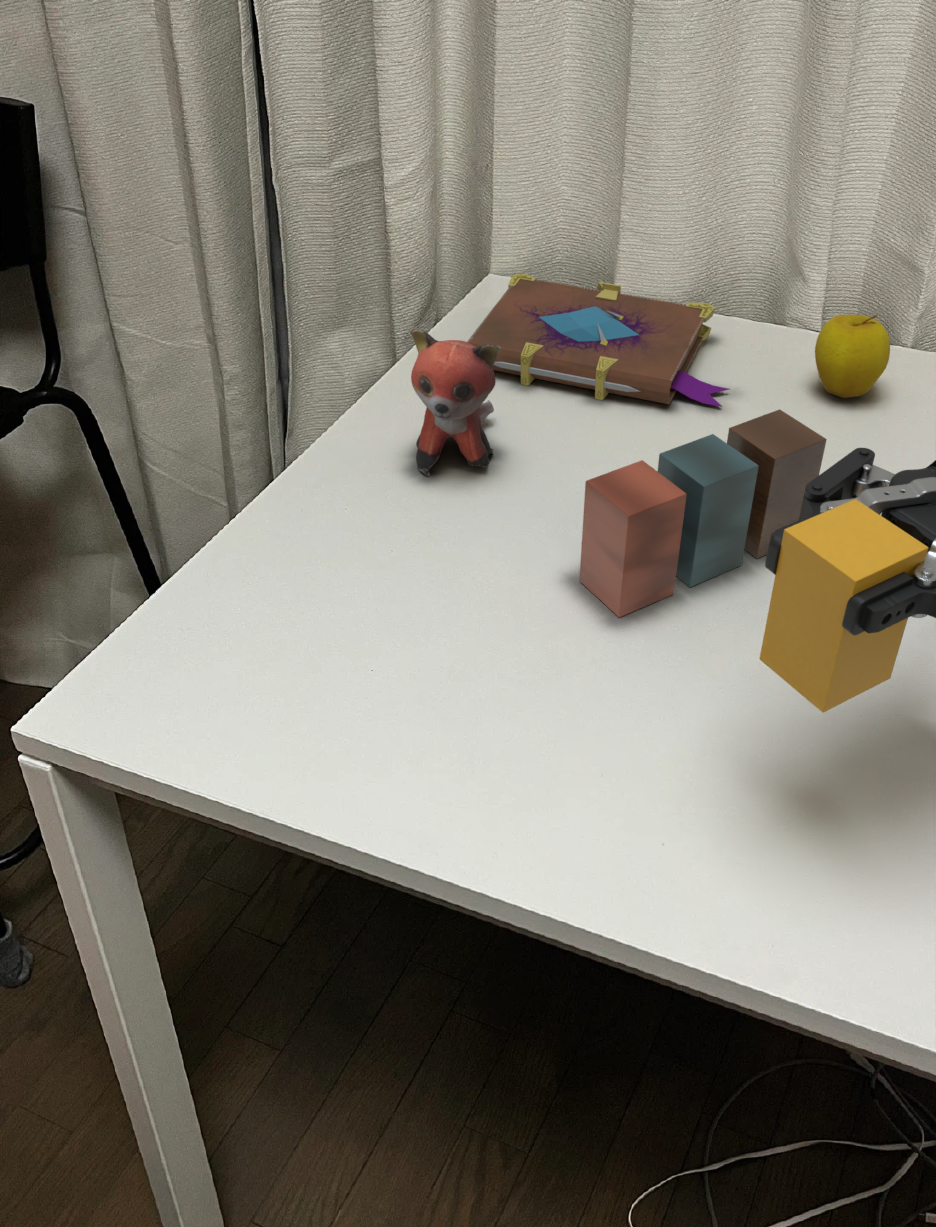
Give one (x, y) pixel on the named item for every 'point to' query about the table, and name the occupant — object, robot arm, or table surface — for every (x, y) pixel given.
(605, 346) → the book
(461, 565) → the table surface
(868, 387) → the apple
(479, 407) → the stuffed fox
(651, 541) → the three coloured blocks
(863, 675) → the block
